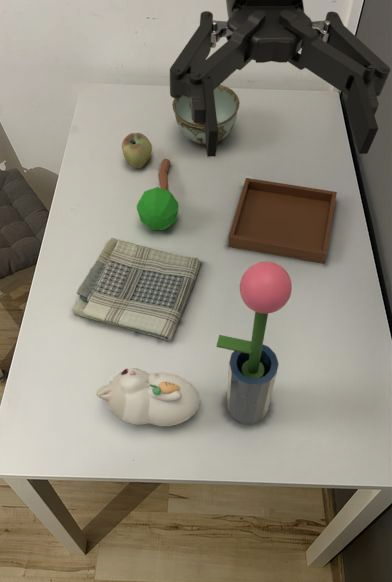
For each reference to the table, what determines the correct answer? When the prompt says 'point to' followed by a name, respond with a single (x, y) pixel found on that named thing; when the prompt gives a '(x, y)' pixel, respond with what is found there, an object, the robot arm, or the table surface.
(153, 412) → the cat figurine
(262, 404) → the vase
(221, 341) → the flower
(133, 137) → the apple
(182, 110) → the bowl
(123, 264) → the dish towel
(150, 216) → the tree
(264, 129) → the table surface
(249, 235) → the tray
